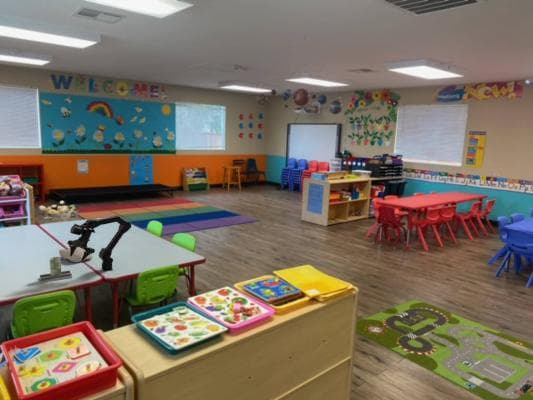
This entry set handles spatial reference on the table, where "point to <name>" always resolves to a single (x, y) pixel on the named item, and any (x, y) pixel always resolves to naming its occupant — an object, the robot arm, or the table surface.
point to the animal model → (74, 255)
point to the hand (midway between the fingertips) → (76, 258)
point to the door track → (53, 278)
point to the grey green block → (55, 266)
